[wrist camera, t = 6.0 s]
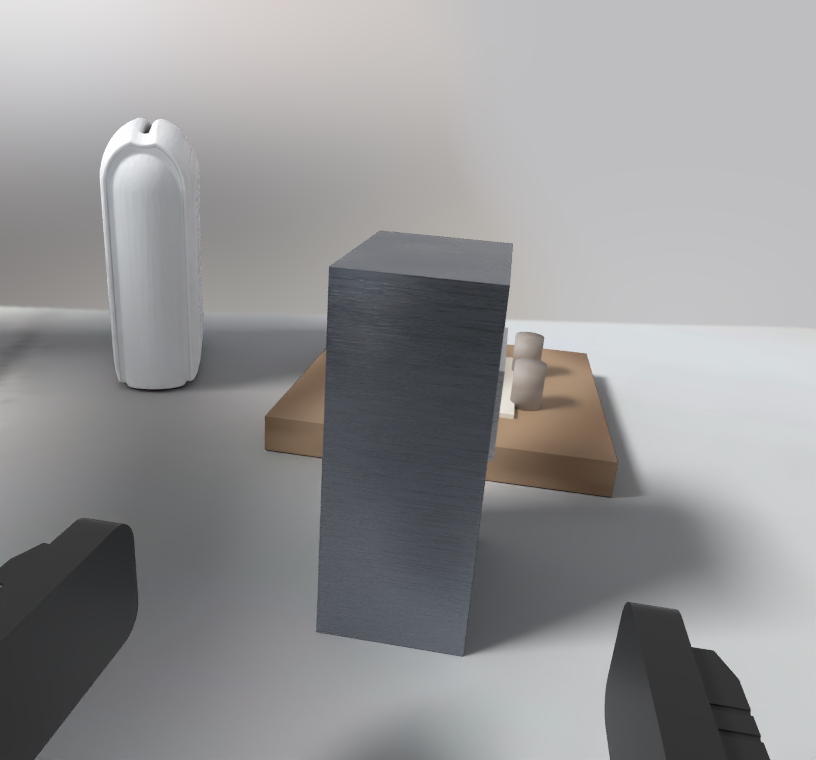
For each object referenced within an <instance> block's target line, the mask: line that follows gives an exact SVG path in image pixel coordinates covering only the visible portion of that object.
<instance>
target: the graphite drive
mask: <svg viewBox="0 0 816 760" xmlns="http://www.w3.org/2000/svg"><path fill="white" fill-rule="evenodd" d="M512 248H513V244H512V243H502V242H492V241H491V242H490V241H481V240H470V239H461V238H451V237H440V236H430V235H419V234H410V233H399V232H389V231H379V232H377V233H376V234H375V235H373V236H372V237H370V238H369V239H368V240H366V241H365V242H363V243H362V244H361V245H359V246H358V247H356V248H355V249H353V250H352V251H351V252H349V253H348V254H346V255H345V256H343V257H342V258H341V259H339V260H338V261H336V262H335V263H334V264H332V265H331V266H329V286H328V314H327V343H326V372H325V400H324V429H323V458H322V487H321V515H320V544H319V573H318V601H317V630H316V632H320V633H326V634H332V635H338V636H344V637H350V638H356V639H362V640H368V641H374V642H380V643H386V644H391V645H397V646H403V647H409V648H415V649H421V650H427V651H433V652H439V653H445V654H451V655H457V656H463V653H464V645H465V637H466V629H467V621H468V613H469V605H470V597H471V590H472V582H473V574H474V566H475V558H476V550H477V542H478V534H479V526H480V518H481V510H482V502H483V494H484V486H485V478H486V470H487V462H488V461H493V460H494V452H495V444H496V436H497V429H498V421H499V413H500V405H501V398H502V390H503V382H504V374H505V362H506V348H507V334H508V328H504V327H505V319H506V311H507V303H508V296H509V288H510V276H511V262H512V250H513V249H512Z"/></svg>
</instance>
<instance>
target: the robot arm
mask: <svg viewBox="0 0 816 760" xmlns="http://www.w3.org/2000/svg"><path fill="white" fill-rule="evenodd" d="M137 610H138V591H137V577H136V564H135V550H134V538H133V532H132V530H131V528H130V527H129V526H128V525H126V524H120V523H114V522H107V521H101V520H95V519H88V518H81V519H79V520H77V521H76V522H74V523H73V524H72V525H71V526H70V527H69V528H67V529H66V530H65V531H64V532H63V533H62V534H61V535H59V536H58V537H57V538H56V539H55V540H54V541H53V542H52V543H50V544H46V543H42V544H40V545H38V546H36V547H34V548H32V549H30V550H28V551H26V552H24V553H22V554H20V555H18V556H16V557H14V558H12V559H10V560H9V561H7V562H6V563H5V564H4V565H3V566H2V567H0V760H34V759H35V758H36V757H37V755H38V754H39V753H40V751H41V750H42V749H43V747H44V746H45V745H46V744H47V742H48V741H49V740H50V738H51V737H52V736H53V735H54V733H55V732H56V731H57V729H58V728H59V727H60V725H61V724H62V723H63V722H64V720H65V719H66V718H67V716H68V715H69V714H70V713H71V711H72V710H73V709H74V707H75V706H76V705H77V704H78V702H79V701H80V700H81V698H82V697H83V696H84V694H85V693H86V692H87V691H88V689H89V688H90V687H91V685H92V684H93V683H94V682H95V680H96V679H97V678H98V676H99V675H100V674H101V672H102V671H103V670H104V669H105V667H106V666H107V665H108V663H109V662H110V661H111V660H112V658H113V657H114V656H115V654H116V653H117V652H118V650H119V649H120V648H121V647H122V645H123V644H124V643H125V641H126V640H127V638H128V637H129V635H130V633H131V631H132V628H133V626H134V623H135V620H136V616H137ZM750 711H751V709H750V707H749V704H748V702H747V699H746V697H745V694H744V691H743V689H742V686H741V684H740V681H739V679H738V678H737V677H736V676H735V674H734V673H733V672H732V671H731V670H730V669H729V668H728V666H727V665H726V664H725V663H724V662H723V661H722V660H721V658H720V657H719V656H718V655H717V654H716V653H715V652H714V651H712V650H706V649H700V648H694V647H691V644H690V641H689V638H688V635H687V632H686V629H685V626H684V623H683V619H682V616H681V614H680V612H679V611H678V610H676V609H669V608H663V607H657V606H650V605H644V604H638V603H631V602H627V603H626V604H625V606H624V609H623V612H622V616H621V620H620V625H619V629H618V634H617V638H616V643H615V647H614V652H613V656H612V661H611V665H610V670H609V674H608V679H607V684H606V692H605V725H606V733H607V740H608V748H609V755H610V760H770V758H769V756H768V753H767V751H766V748H765V745H764V743H762V742H761V740H760V738H761V735H760V733H759V730H758V727H757V725H756V722H755V720H754V717H753V716H751V714H750Z"/></svg>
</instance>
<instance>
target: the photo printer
mask: <svg viewBox="0 0 816 760" xmlns="http://www.w3.org/2000/svg"><path fill="white" fill-rule="evenodd" d="M199 182H200V179H199V165H198V160H197V156H196V153H195V151H194V149H193V147H192V145H191V143H190V142H189V140H188V139H187V138H186V136H185V135H184V133H183V132H182V131H181V130H179V129H178V128H177V127H176V126H175V125H173V124H172V123H170V122H168V121H166V120H164V119H159V120H156V121H154V122H153V124H152V125H151V124H150V122H149V121H147V120H145V119H143V118H137V119H135V120H132V121H130V122H128V123H127V124H125V125H124V126H122V127H121V128H120V129H119V130H118V131H117V132H116V133H115V134H114V136H113V137H112V138H111V140H110V141H109V143H108V145H107V147H106V149H105V152H104V154H103V158H102V161H101V168H100V186H101V202H102V215H103V227H104V228H103V229H104V241H105V256H106V268H107V269H106V270H107V283H108V297H109V310H110V322H111V334H112V345H113V356H114V364H115V369H116V373H117V377H118V380H119V382H125V383H127V385H128V386H129V387H132V388H138V389H168V388H175V387H180V386H183V385H184V384H185V383H186V381H192V380H193V379H194V378H195V376H196V375H197V372H198V369H199V364H200V359H201V350H202V340H203V308H202V283H201V281H202V280H201V250H200V206H199Z"/></svg>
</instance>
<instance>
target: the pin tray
mask: <svg viewBox="0 0 816 760" xmlns="http://www.w3.org/2000/svg"><path fill="white" fill-rule="evenodd" d="M543 342H544V337H543V336H542V335H540V334H536V333H531V332H519V333H517V334H516V338H515V345H507V348H506V362H505V374H504V382H503V390H502V398H501V405H500V413H499V421H498V429H497V436H496V444H495V452H494V460H493V461H488V462H487V470H486V478H485V480H490V481H497V482H505V483H512V484H519V485H526V486H534V487H541V488H548V489H556V490H563V491H570V492H577V493H585V494H592V495H599V496H607V497H611V495H612V490H613V485H614V480H615V475H616V470H617V465H618V461H617V458H616V454H615V451H614V447H613V444H612V440H611V437H610V433H609V430H608V427H607V423H606V420H605V416H604V413H603V409H602V406H601V402H600V399H599V395H598V392H597V389H596V385H595V382H594V378H593V375H592V371H591V368H590V364H589V361H588V357H587V354H585V353H577V352H568V351H559V350H550V349H543ZM325 372H326V349H325V350H324V351H323V352H322V353H321V355H320V356H319V357H318V358H317V359H316V360H315V361H314V362H313V363H312V365H311V366H310V367H309V368H308V369H307V370H306V371H305V372H304V373H303V375H302V376H301V377H300V378H299V379H298V380H297V381H296V382H295V384H294V385H293V386H292V387H291V388H290V389H289V390H288V391H287V392H286V394H285V395H284V396H283V397H282V398H281V399H280V400H279V401H278V402H277V404H276V405H275V406H274V407H273V408H272V409H271V410H270V411H269V413H268V414H267V415H266V416H265V450H272V451H279V452H286V453H293V454H301V455H308V456H315V457H323V429H324V400H325Z"/></svg>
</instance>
